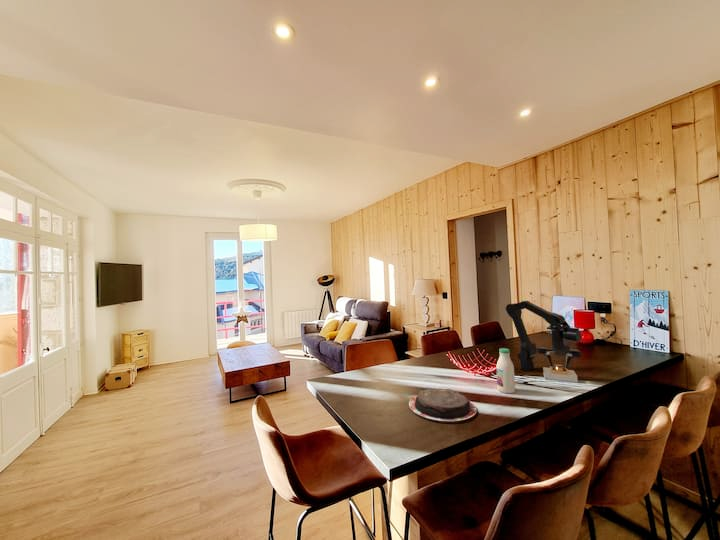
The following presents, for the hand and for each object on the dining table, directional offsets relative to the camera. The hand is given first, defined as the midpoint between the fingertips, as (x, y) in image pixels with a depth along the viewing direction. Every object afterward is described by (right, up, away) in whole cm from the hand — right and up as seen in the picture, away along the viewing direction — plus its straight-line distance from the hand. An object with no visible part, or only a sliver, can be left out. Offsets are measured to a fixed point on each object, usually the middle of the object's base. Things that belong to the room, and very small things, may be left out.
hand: (559, 367), depth 154 cm
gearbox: (0, -6, 0) cm, 6 cm away
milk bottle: (-36, -6, -15) cm, 39 cm away
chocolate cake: (-72, -7, -31) cm, 78 cm away
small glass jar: (0, -5, 0) cm, 5 cm away
